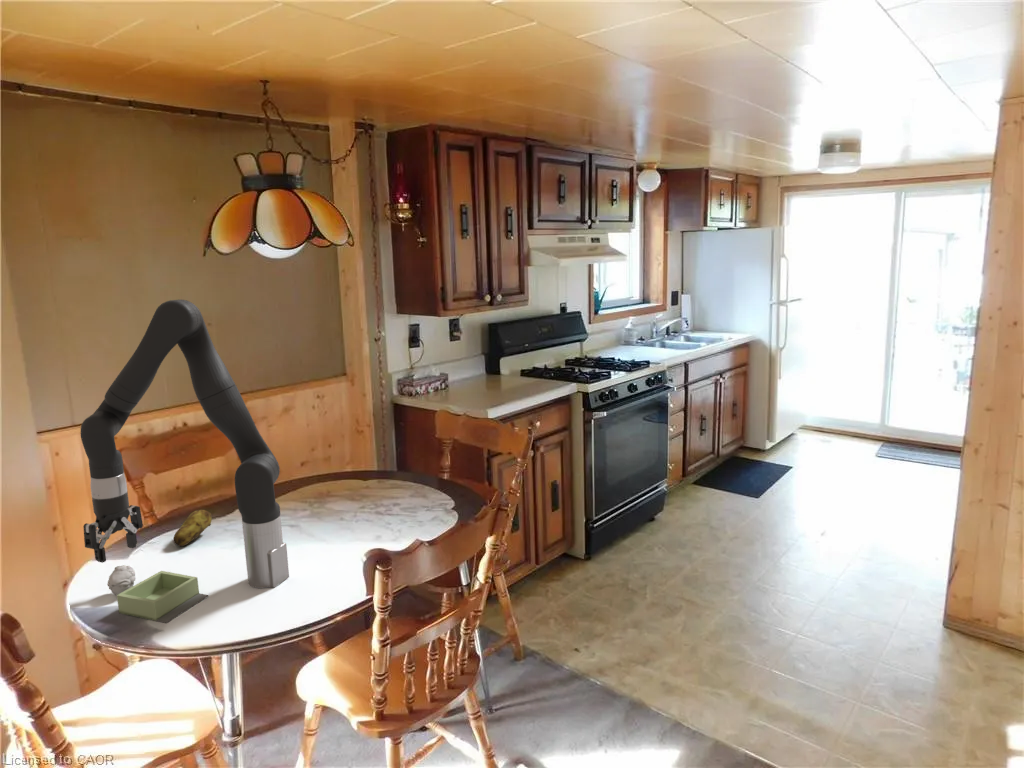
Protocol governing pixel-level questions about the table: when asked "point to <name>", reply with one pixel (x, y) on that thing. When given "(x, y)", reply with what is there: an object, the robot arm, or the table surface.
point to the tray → (160, 597)
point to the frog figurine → (121, 579)
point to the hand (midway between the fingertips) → (117, 554)
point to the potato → (192, 527)
